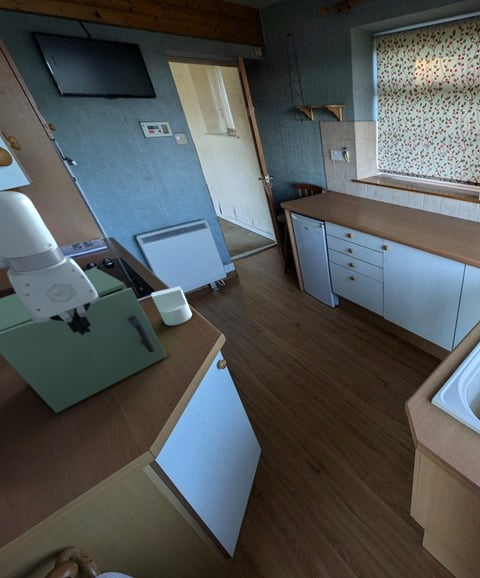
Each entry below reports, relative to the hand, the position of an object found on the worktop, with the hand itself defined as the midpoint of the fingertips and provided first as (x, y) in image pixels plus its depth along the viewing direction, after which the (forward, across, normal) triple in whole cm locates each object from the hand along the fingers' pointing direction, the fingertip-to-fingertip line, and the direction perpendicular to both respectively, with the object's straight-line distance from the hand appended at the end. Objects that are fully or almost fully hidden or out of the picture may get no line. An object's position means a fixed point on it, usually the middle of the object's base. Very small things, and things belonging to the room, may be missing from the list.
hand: (83, 331), depth 66 cm
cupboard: (+25, +2, +22) cm, 34 cm away
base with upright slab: (+25, +28, +26) cm, 46 cm away
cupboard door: (+25, +1, +8) cm, 26 cm away
